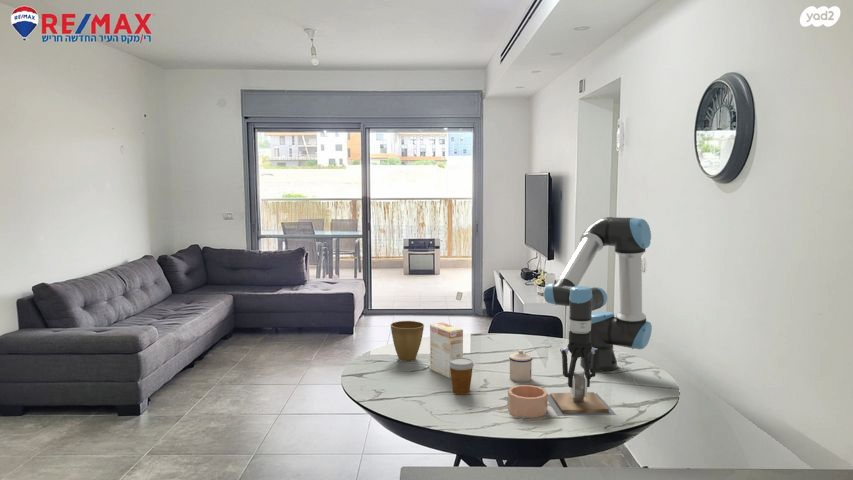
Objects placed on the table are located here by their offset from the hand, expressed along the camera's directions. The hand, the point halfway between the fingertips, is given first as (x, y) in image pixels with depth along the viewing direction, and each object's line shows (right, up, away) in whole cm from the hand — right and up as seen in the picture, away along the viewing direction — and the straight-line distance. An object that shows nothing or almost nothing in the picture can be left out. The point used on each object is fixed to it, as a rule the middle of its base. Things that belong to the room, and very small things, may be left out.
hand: (578, 395), depth 207 cm
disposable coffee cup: (-41, -3, +15) cm, 43 cm away
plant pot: (-62, +1, +56) cm, 84 cm away
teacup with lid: (-16, -1, +31) cm, 35 cm away
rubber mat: (0, -4, 0) cm, 4 cm away
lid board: (0, -3, 0) cm, 3 cm away
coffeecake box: (-46, 0, +37) cm, 59 cm away
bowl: (-19, -4, -4) cm, 20 cm away
